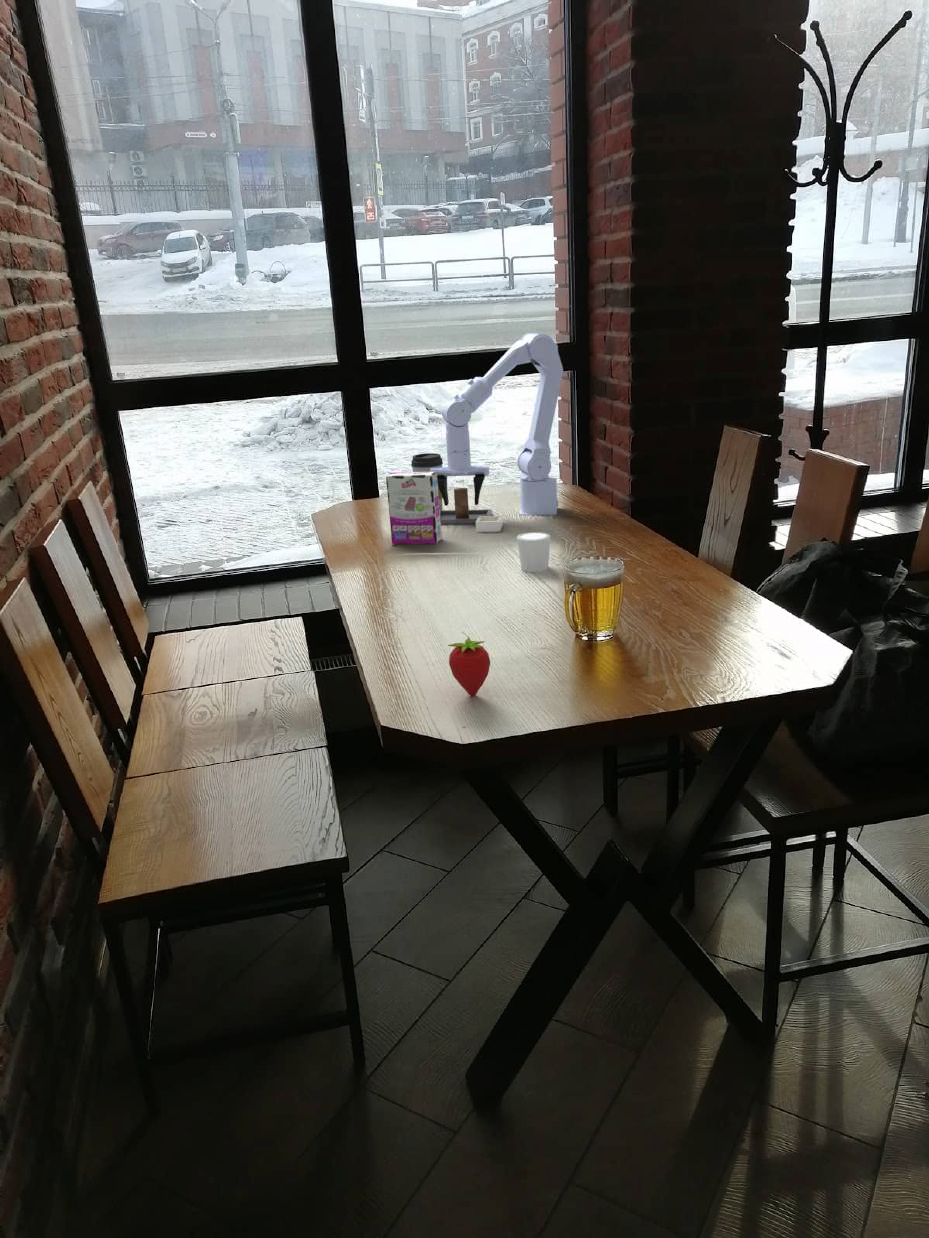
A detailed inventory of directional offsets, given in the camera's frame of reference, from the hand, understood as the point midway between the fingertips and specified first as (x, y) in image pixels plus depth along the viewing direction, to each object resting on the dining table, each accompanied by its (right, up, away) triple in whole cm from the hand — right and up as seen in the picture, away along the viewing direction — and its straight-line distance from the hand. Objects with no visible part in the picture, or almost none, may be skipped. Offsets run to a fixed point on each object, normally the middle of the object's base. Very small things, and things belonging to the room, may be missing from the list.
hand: (461, 504), depth 234 cm
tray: (0, -4, +1) cm, 4 cm away
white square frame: (+7, -7, -9) cm, 13 cm away
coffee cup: (-8, -1, +12) cm, 15 cm away
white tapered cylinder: (+15, -18, -41) cm, 47 cm away
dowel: (0, -3, +1) cm, 4 cm away
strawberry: (+2, -40, -98) cm, 106 cm away
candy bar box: (-10, -11, -16) cm, 22 cm away
